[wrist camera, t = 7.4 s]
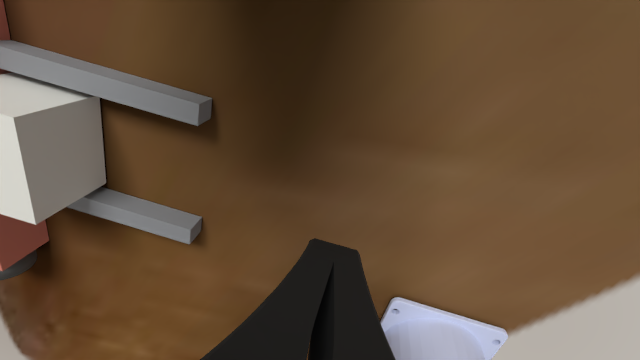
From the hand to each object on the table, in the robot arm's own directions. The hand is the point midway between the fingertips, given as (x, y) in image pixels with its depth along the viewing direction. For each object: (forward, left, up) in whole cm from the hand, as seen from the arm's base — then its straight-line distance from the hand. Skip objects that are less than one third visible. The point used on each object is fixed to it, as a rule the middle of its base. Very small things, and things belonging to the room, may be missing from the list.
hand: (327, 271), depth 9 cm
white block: (-4, +19, -10) cm, 22 cm away
